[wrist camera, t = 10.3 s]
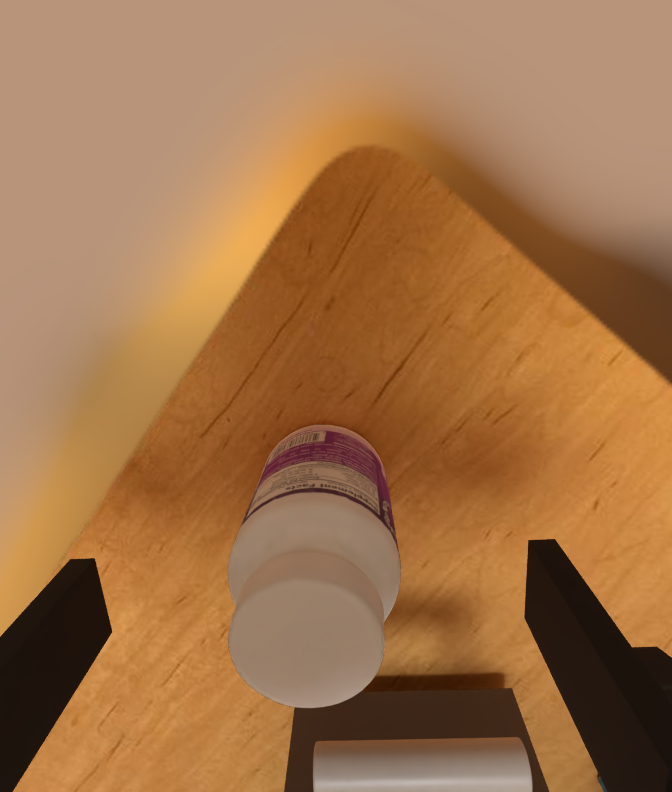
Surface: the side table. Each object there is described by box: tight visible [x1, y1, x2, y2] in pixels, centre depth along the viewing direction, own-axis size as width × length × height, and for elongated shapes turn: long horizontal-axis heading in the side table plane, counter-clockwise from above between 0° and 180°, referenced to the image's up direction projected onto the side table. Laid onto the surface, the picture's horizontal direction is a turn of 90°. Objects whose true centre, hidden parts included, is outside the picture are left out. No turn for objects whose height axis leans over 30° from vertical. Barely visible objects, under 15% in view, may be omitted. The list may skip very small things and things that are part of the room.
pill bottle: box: [228, 425, 401, 708], centre depth 17 cm, size 5×5×10 cm
